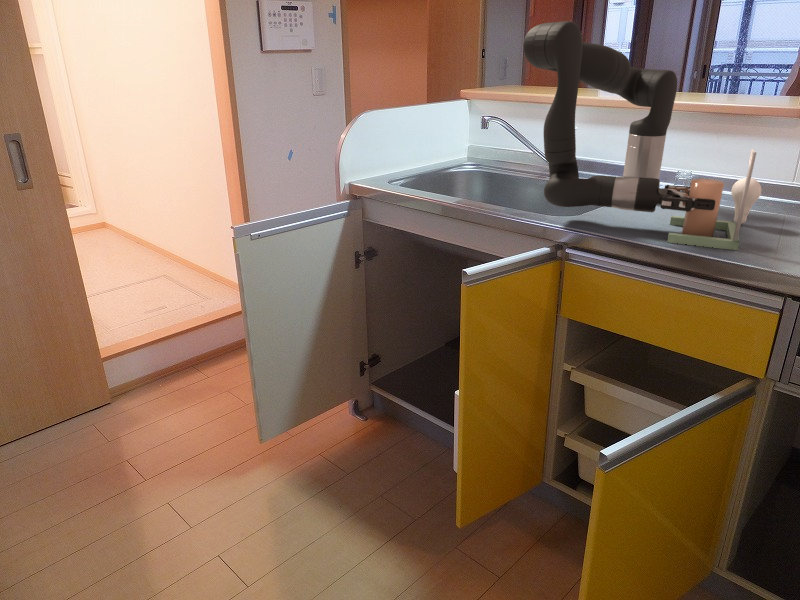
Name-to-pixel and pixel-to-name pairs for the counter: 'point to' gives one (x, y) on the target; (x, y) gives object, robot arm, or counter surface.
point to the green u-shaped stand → (729, 226)
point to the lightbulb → (751, 198)
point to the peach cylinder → (701, 219)
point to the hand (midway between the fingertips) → (714, 200)
